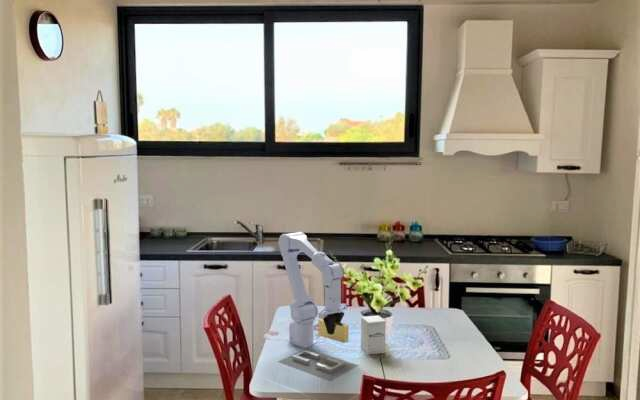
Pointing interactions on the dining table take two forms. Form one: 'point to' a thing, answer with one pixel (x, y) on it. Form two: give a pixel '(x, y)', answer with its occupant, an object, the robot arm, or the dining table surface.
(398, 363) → the dining table surface
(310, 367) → the mat
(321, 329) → the yellow gripped block
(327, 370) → the pair of white brackets
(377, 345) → the supplement box
